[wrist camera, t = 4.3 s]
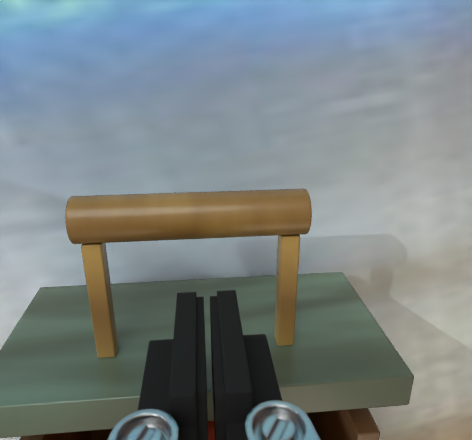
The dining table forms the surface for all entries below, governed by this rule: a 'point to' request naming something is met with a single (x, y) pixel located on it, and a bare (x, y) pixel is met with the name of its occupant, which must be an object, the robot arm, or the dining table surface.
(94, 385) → the drawer
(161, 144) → the dining table surface
